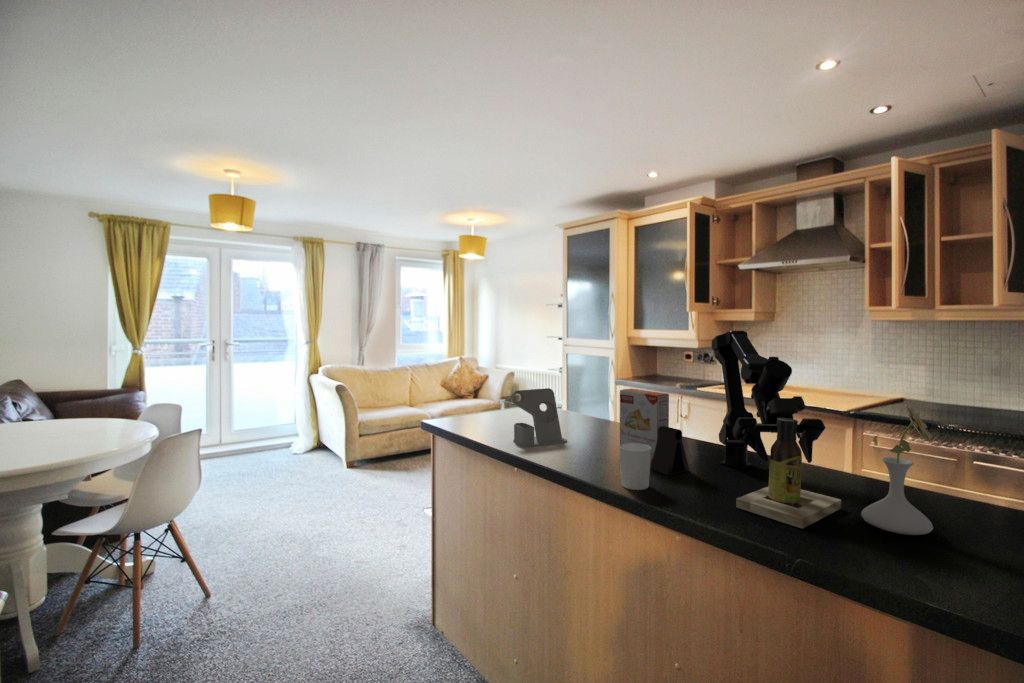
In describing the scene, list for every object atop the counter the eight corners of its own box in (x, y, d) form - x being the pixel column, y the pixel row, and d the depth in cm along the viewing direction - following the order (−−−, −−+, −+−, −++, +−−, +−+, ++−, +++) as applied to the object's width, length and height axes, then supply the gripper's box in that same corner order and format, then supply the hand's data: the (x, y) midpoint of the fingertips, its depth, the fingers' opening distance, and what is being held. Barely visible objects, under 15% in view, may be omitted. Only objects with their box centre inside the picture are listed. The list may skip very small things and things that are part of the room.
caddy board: (776, 491, 120) (776, 482, 120) (840, 508, 109) (841, 499, 109) (736, 507, 110) (736, 498, 110) (802, 528, 98) (802, 518, 98)
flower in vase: (911, 545, 91) (915, 411, 90) (848, 522, 101) (850, 402, 100) (950, 533, 96) (954, 406, 95) (886, 512, 106) (889, 398, 105)
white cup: (645, 493, 119) (645, 452, 119) (614, 487, 123) (614, 448, 123) (654, 484, 126) (655, 445, 125) (625, 479, 130) (625, 441, 130)
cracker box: (618, 456, 151) (618, 389, 150) (631, 453, 155) (631, 387, 154) (656, 467, 140) (657, 394, 139) (669, 463, 144) (669, 392, 143)
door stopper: (666, 475, 133) (667, 431, 132) (650, 470, 138) (650, 427, 137) (689, 470, 137) (689, 428, 137) (672, 465, 142) (672, 424, 142)
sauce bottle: (789, 515, 105) (791, 423, 104) (762, 505, 111) (764, 418, 110) (806, 509, 109) (808, 420, 108) (779, 500, 114) (781, 415, 113)
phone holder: (523, 448, 162) (523, 394, 162) (510, 441, 172) (510, 390, 171) (568, 442, 170) (568, 390, 169) (553, 436, 179) (553, 387, 178)
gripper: (737, 383, 115) (754, 441, 104) (822, 384, 113) (848, 443, 102) (725, 410, 123) (741, 467, 112) (804, 411, 121) (827, 469, 110)
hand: (788, 461), depth 109 cm, fingers open, 9 cm apart
